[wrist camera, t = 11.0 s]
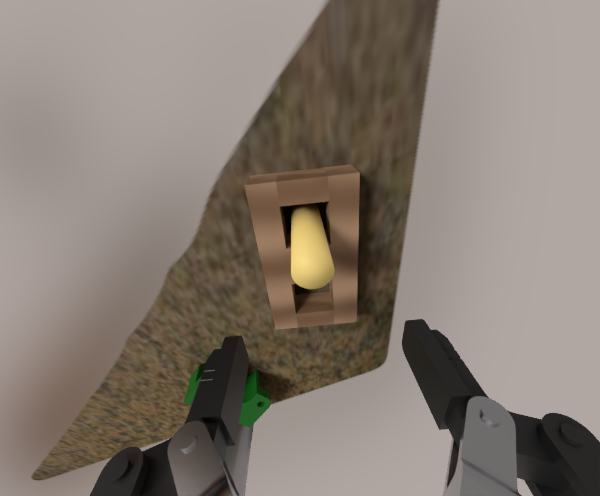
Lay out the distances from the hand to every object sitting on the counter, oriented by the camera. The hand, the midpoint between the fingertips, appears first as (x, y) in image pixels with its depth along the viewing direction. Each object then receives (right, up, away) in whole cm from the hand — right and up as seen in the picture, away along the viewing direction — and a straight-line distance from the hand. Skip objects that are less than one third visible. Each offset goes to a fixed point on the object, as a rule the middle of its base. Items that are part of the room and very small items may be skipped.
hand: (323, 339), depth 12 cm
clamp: (-12, -15, +28) cm, 34 cm away
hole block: (0, +4, +16) cm, 17 cm away
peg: (-1, +8, +14) cm, 17 cm away
